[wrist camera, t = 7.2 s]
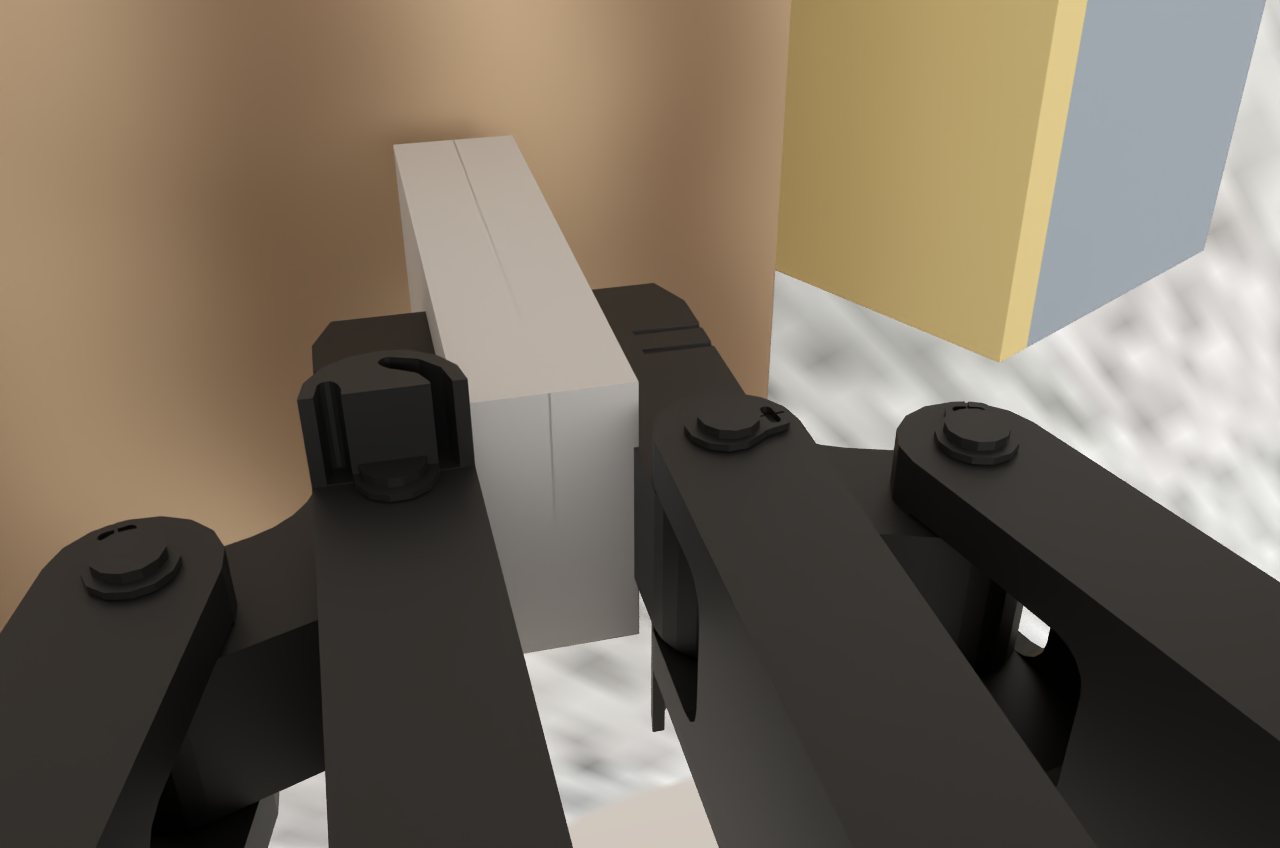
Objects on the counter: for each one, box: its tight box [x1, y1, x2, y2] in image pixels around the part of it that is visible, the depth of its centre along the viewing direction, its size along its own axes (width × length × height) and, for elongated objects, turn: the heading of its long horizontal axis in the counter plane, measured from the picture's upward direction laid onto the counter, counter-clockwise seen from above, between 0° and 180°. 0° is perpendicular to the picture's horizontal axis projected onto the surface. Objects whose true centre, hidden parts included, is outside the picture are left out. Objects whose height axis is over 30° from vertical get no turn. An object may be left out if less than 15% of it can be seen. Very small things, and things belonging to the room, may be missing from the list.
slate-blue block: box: [775, 0, 1266, 362], centre depth 23 cm, size 7×7×7 cm
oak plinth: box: [0, 0, 791, 633], centre depth 20 cm, size 16×14×9 cm
